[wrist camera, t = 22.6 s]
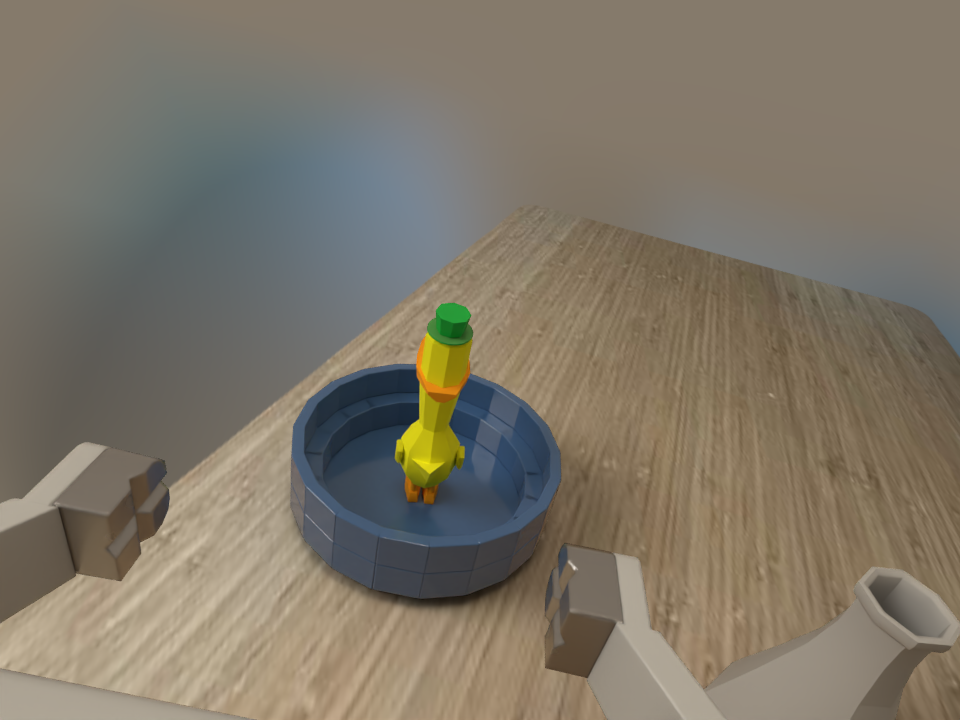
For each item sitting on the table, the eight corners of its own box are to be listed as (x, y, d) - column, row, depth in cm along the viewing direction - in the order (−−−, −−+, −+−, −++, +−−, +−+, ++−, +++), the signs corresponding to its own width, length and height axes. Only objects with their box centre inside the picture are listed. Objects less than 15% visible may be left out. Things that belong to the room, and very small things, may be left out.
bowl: (246, 575, 28) (243, 509, 26) (336, 401, 40) (339, 345, 38) (540, 634, 29) (564, 574, 26) (542, 444, 41) (559, 390, 38)
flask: (668, 684, 28) (761, 537, 22) (784, 649, 30) (891, 511, 25) (781, 873, 22) (939, 739, 17) (909, 810, 25) (1080, 677, 20)
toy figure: (394, 445, 37) (419, 265, 30) (452, 451, 37) (488, 275, 31) (385, 531, 31) (413, 333, 25) (453, 537, 32) (498, 344, 25)
